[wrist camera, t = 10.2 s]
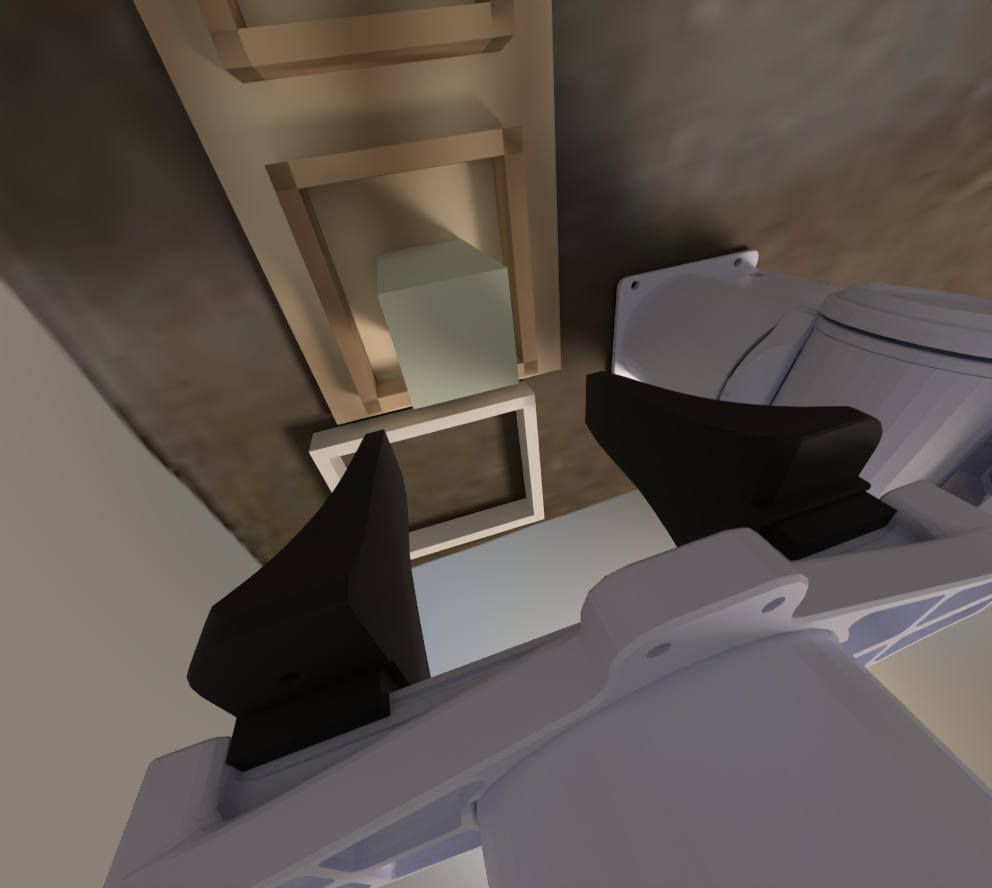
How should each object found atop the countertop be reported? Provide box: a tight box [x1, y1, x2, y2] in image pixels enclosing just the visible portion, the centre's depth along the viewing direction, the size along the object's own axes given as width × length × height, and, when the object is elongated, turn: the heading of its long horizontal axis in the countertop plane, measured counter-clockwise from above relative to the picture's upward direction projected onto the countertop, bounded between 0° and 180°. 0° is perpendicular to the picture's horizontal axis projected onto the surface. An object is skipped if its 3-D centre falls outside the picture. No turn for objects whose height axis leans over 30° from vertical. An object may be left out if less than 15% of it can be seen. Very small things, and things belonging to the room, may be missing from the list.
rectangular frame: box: [309, 381, 544, 560], centre depth 26 cm, size 14×12×2 cm
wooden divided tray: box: [133, 0, 561, 425], centre depth 14 cm, size 14×26×3 cm, turn 8°
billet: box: [377, 238, 519, 409], centre depth 15 cm, size 4×4×8 cm
